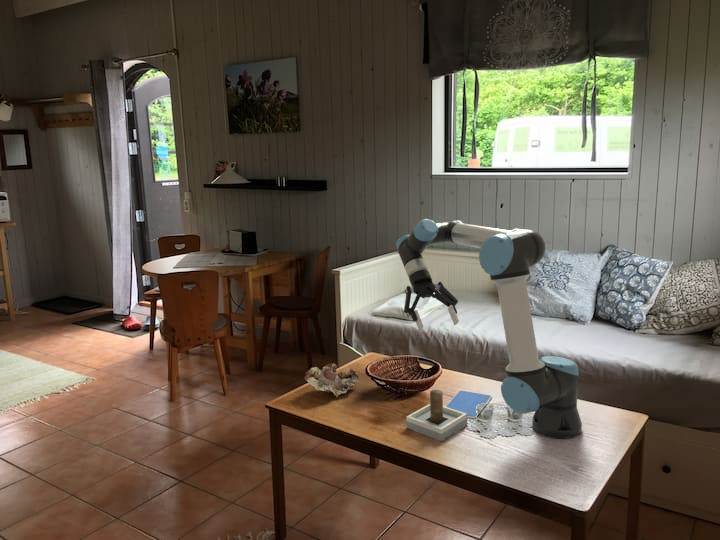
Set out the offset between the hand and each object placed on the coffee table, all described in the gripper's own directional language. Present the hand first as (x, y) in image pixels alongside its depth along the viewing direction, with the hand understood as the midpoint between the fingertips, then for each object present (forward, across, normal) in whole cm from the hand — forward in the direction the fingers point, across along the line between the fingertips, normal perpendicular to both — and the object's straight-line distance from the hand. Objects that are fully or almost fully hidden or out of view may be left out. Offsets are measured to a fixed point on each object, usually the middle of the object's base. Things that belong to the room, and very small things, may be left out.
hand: (439, 326), depth 207 cm
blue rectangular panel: (+23, -10, -20) cm, 32 cm away
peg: (+30, +8, -12) cm, 33 cm away
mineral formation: (0, +29, -42) cm, 51 cm away
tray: (+30, +8, -12) cm, 33 cm away
